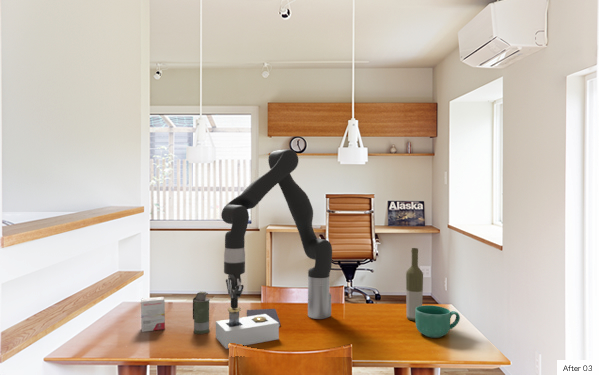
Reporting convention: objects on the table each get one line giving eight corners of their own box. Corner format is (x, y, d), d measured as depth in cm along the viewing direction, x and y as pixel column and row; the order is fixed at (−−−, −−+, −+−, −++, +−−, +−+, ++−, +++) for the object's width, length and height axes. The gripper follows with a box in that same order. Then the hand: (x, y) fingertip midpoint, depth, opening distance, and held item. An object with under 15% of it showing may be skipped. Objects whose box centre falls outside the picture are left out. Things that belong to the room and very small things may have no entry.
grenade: (212, 329, 165) (212, 291, 165) (204, 334, 160) (204, 295, 159) (198, 327, 167) (198, 289, 167) (189, 332, 162) (189, 293, 161)
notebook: (246, 313, 188) (248, 329, 167) (246, 309, 188) (248, 325, 167) (275, 312, 190) (280, 328, 169) (275, 308, 190) (280, 324, 169)
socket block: (265, 329, 166) (265, 313, 166) (278, 339, 156) (278, 322, 156) (215, 337, 157) (215, 321, 157) (226, 348, 146) (226, 331, 146)
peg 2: (262, 332, 162) (263, 315, 162) (267, 336, 158) (267, 319, 158) (251, 334, 160) (251, 317, 160) (256, 338, 155) (256, 321, 155)
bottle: (425, 321, 177) (426, 249, 176) (408, 322, 176) (409, 249, 176) (419, 316, 184) (419, 247, 183) (403, 316, 183) (403, 247, 183)
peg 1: (238, 323, 157) (238, 306, 157) (242, 327, 153) (242, 309, 153) (226, 325, 155) (226, 307, 155) (230, 329, 151) (230, 311, 151)
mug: (419, 340, 156) (419, 314, 156) (412, 328, 168) (412, 304, 168) (465, 341, 155) (465, 315, 155) (455, 329, 167) (455, 305, 167)
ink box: (164, 325, 169) (164, 296, 169) (165, 329, 165) (165, 299, 165) (141, 328, 166) (141, 298, 166) (141, 332, 162) (141, 301, 162)
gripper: (251, 262, 150) (250, 311, 150) (238, 256, 161) (237, 302, 161) (230, 263, 146) (230, 314, 146) (219, 257, 158) (218, 304, 158)
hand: (234, 307), depth 154 cm, fingers closed
